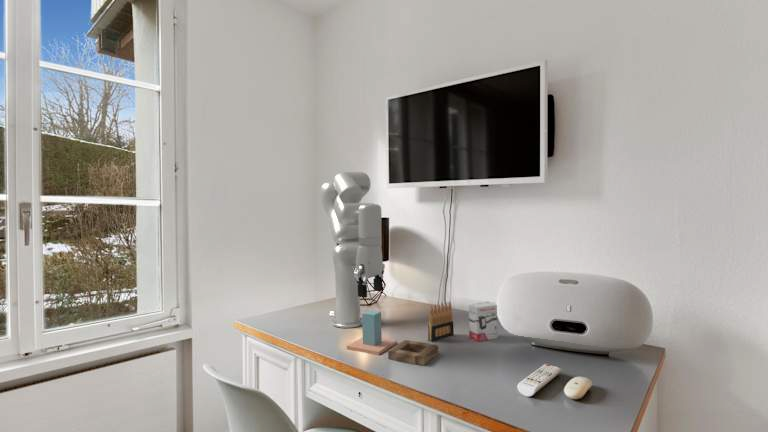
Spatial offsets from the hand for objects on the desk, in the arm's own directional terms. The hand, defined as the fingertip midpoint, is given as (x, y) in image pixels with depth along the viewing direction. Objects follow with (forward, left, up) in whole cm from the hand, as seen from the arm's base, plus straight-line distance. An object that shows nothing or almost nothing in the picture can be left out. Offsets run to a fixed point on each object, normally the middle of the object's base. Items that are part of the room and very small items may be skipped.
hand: (370, 293), depth 131 cm
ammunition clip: (+18, +17, -17) cm, 30 cm away
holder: (+17, -3, -17) cm, 24 cm away
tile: (+1, -1, -17) cm, 17 cm away
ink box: (+31, +23, -17) cm, 42 cm away
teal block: (+1, 0, -16) cm, 16 cm away
